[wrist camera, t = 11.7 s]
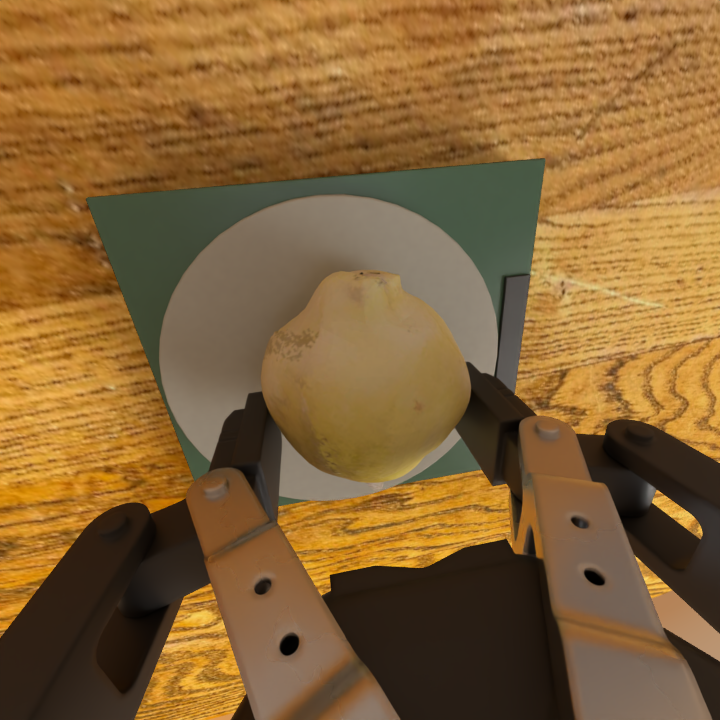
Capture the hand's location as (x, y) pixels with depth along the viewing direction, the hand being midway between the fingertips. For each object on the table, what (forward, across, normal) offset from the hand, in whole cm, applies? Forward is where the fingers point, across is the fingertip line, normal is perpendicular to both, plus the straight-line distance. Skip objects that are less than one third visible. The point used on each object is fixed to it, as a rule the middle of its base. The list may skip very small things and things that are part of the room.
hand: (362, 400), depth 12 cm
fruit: (+2, 0, 0) cm, 2 cm away
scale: (+5, 0, 0) cm, 5 cm away
